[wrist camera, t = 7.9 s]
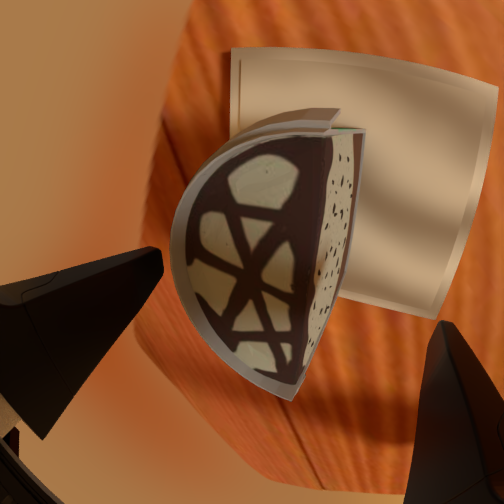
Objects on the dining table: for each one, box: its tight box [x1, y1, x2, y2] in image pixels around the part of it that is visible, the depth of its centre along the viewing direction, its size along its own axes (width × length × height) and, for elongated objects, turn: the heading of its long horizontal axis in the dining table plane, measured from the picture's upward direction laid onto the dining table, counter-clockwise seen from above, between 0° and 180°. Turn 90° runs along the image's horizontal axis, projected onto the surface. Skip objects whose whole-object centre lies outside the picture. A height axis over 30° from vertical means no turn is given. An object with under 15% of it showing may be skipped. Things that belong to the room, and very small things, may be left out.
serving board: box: [230, 47, 499, 320], centre depth 19 cm, size 16×16×2 cm
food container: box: [169, 108, 366, 402], centre depth 15 cm, size 12×6×10 cm, turn 0°
